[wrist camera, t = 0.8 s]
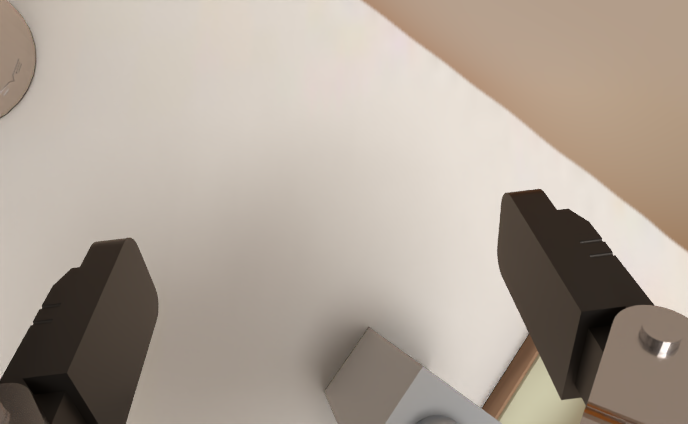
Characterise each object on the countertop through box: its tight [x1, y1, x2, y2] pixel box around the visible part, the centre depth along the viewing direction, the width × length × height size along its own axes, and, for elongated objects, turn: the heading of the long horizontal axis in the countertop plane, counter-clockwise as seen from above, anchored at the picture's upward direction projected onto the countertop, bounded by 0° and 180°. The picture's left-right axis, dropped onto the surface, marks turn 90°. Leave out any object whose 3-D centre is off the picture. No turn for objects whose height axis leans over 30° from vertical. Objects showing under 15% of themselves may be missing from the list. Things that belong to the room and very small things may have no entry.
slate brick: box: [324, 327, 502, 424], centre depth 28 cm, size 5×5×13 cm
